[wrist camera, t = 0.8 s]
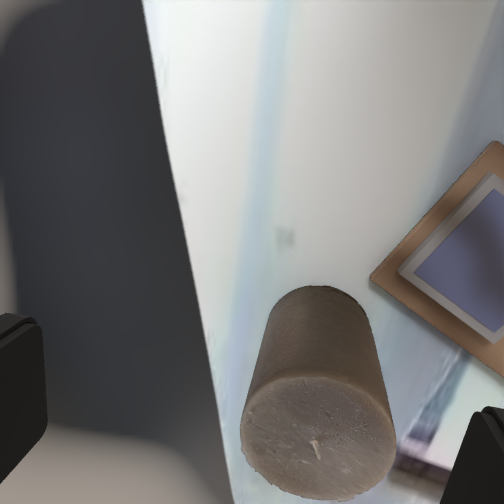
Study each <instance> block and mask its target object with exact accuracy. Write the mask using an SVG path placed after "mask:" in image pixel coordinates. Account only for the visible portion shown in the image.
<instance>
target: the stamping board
mask: <svg viewBox="0 0 504 504" xmlns="http://www.w3.org/2000/svg"><path fill="white" fill-rule="evenodd" d="M370 278H371V280H372V281H373V282H375V283H376V284H377V285H379V286H380V287H381V288H383V289H384V290H385V291H387V292H388V293H389V294H391V295H392V296H394V297H395V298H396V299H398V300H399V301H400V302H402V303H403V304H404V305H406V306H407V307H408V308H410V309H411V310H413V311H414V312H415V313H417V314H418V315H419V316H421V317H422V318H423V319H425V320H426V321H427V322H429V323H430V324H431V325H433V326H434V327H436V328H437V329H438V330H440V331H441V332H442V333H444V334H445V335H446V336H448V337H449V338H450V339H452V340H453V341H455V342H456V343H457V344H459V345H460V346H461V347H463V348H464V349H465V350H467V351H468V352H469V353H471V354H472V355H474V356H475V357H476V358H478V359H479V360H480V361H482V362H483V363H484V364H486V365H487V366H488V367H490V368H491V369H492V370H494V371H495V372H497V373H498V374H499V375H501V376H502V377H503V378H504V145H503V144H501V143H500V142H499V141H492V142H491V144H490V145H489V146H488V147H487V148H486V149H485V150H484V151H483V152H482V153H481V155H480V156H479V157H478V158H477V159H476V160H475V161H474V162H473V163H472V164H471V165H470V167H469V168H468V169H467V170H466V171H465V172H464V173H463V174H462V175H461V176H460V178H459V179H458V180H457V181H456V182H455V183H454V184H453V185H452V186H451V187H450V188H449V190H448V191H447V192H446V193H445V194H444V195H443V196H442V197H441V198H440V199H439V201H438V202H437V203H436V204H435V205H434V206H433V207H432V208H431V209H430V210H429V212H428V213H427V214H426V215H425V216H424V217H423V218H422V219H421V220H420V221H419V222H418V224H417V225H416V226H415V227H414V228H413V229H412V230H411V231H410V232H409V233H408V235H407V236H406V237H405V238H404V239H403V240H402V241H401V242H400V243H399V244H398V246H397V247H396V248H395V249H394V250H393V251H392V252H391V253H390V254H389V255H388V256H387V258H386V259H385V260H384V261H383V262H382V263H381V264H380V265H379V266H378V267H377V269H376V270H375V271H374V272H373V273H372V274H371V275H370Z"/></svg>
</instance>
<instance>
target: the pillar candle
mask: <svg viewBox="0 0 504 504" xmlns="http://www.w3.org/2000/svg"><path fill="white" fill-rule="evenodd" d="M240 438H241V444H242V446H241V450H242V452H243V454H244V455H245V456H246V459H247V462H248V463H249V465H250V466H251V467H253V468H254V469H255V471H256V472H259V473H260V474H261V475H262V476H263V477H264V478H265V479H266V480H267V481H268V482H269V483H270V484H271V485H272V484H274V485H276V486H277V487H279V488H280V489H281V490H282V491H284V492H288V493H291V494H294V495H299V496H301V497H303V498H309V499H317V500H338V501H339V502H340V501H347V500H351V499H353V498H354V496H355V495H357V494H361V493H363V492H364V491H368V490H369V489H370V488H372V487H374V486H375V485H376V484H377V483H378V482H380V481H381V480H382V479H383V478H384V477H385V476H386V474H387V473H388V471H389V470H390V468H391V466H392V465H393V463H394V460H395V457H396V447H397V445H396V435H395V429H394V425H393V420H392V415H391V411H390V406H389V402H388V396H387V392H386V388H385V384H384V381H383V376H382V372H381V367H380V363H379V359H378V355H377V350H376V346H375V341H374V337H373V334H372V330H371V327H370V324H369V320H368V317H367V316H366V313H365V311H364V310H363V308H362V307H361V305H359V304H358V302H357V301H356V300H355V299H354V298H352V297H351V296H350V295H348V294H346V293H345V292H343V291H341V290H339V289H336V288H333V287H330V286H305V287H301V288H298V289H295V290H293V291H291V292H289V293H288V294H286V295H285V296H283V297H282V298H281V299H280V300H279V301H278V302H277V303H276V305H275V306H274V307H273V309H272V311H271V313H270V315H269V318H268V321H267V325H266V329H265V332H264V336H263V340H262V344H261V348H260V351H259V355H258V359H257V362H256V366H255V369H254V373H253V377H252V381H251V384H250V388H249V391H248V395H247V399H246V403H245V406H244V410H243V414H242V418H241V424H240Z"/></svg>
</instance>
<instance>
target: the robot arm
mask: <svg viewBox="0 0 504 504" xmlns="http://www.w3.org/2000/svg"><path fill="white" fill-rule="evenodd" d="M47 420H48V419H47V403H46V385H45V370H44V354H43V338H42V329H41V327H40V326H38V325H37V322H36V321H35V319H34V318H32V317H27V316H22V315H17V314H11V313H5V314H3V315H0V484H1V483H2V481H3V480H4V479H5V478H6V477H7V476H8V475H9V473H10V472H11V471H12V470H13V469H14V468H15V467H16V466H17V465H18V463H19V462H20V461H21V460H22V459H23V458H24V457H25V456H26V454H27V453H28V452H29V451H30V450H31V449H32V448H33V446H34V445H35V444H36V443H37V442H38V441H39V440H40V438H41V437H42V436H43V434H44V432H45V430H46V427H47V422H48V421H47ZM440 504H504V409H501V408H496V407H491V406H487V407H485V408H484V409H482V411H481V412H475V413H474V414H473V415H472V417H471V420H470V422H469V425H468V428H467V431H466V433H465V436H464V439H463V441H462V444H461V447H460V450H459V452H458V455H457V458H456V461H455V463H454V466H453V469H452V471H451V474H450V477H449V480H448V482H447V485H446V488H445V491H444V493H443V496H442V499H441V501H440Z"/></svg>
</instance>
